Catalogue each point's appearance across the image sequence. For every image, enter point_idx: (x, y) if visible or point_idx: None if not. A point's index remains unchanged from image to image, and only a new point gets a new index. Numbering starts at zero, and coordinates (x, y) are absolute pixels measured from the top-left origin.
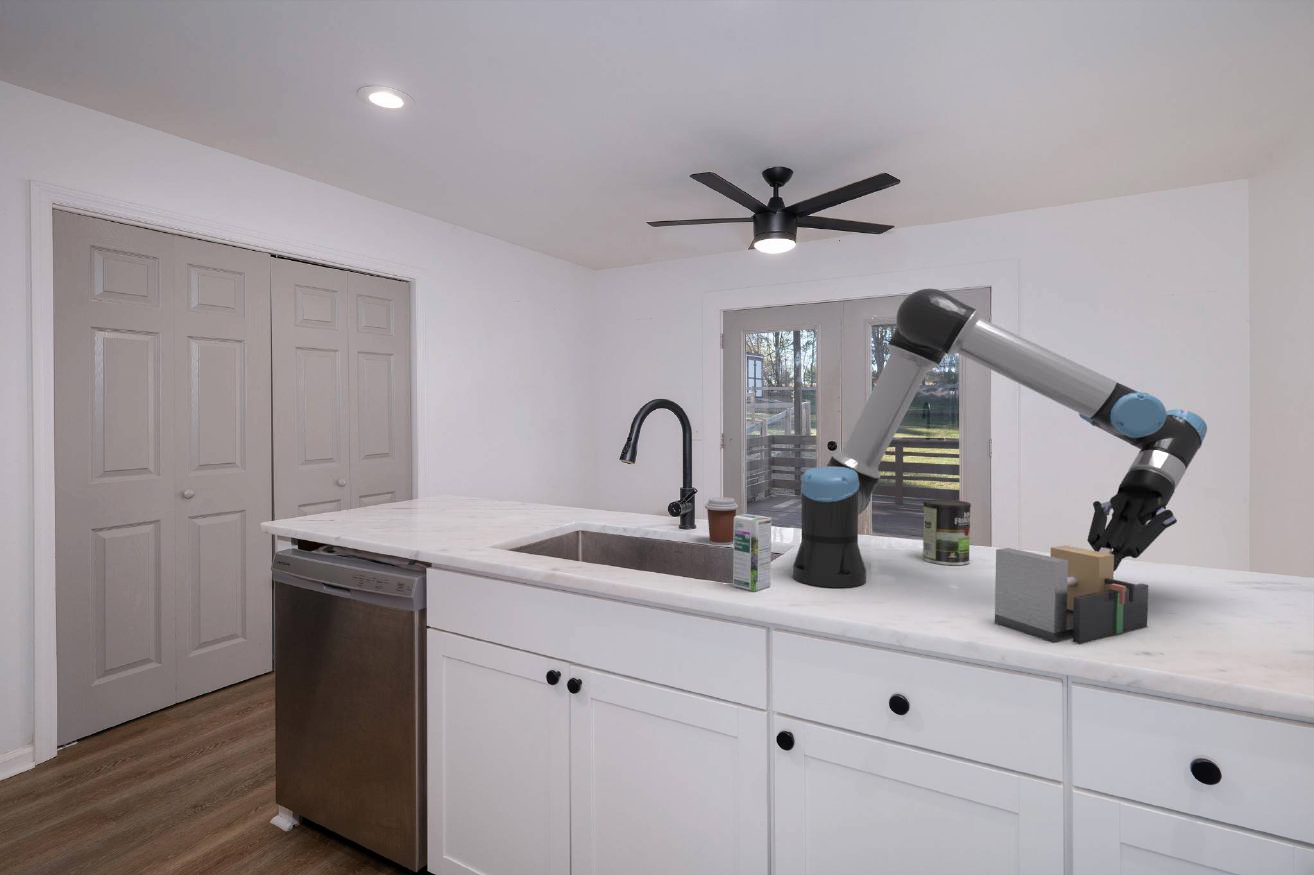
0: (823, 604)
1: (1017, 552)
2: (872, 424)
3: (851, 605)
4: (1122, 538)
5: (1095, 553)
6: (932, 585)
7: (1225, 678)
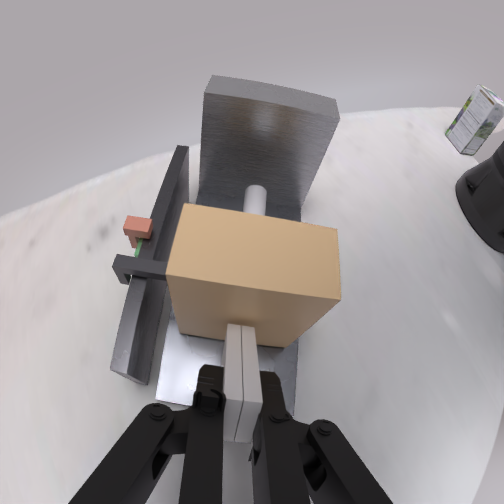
0: (408, 137)
1: (299, 96)
2: None
3: (402, 149)
4: (200, 451)
5: (214, 247)
6: (459, 294)
7: (32, 218)
